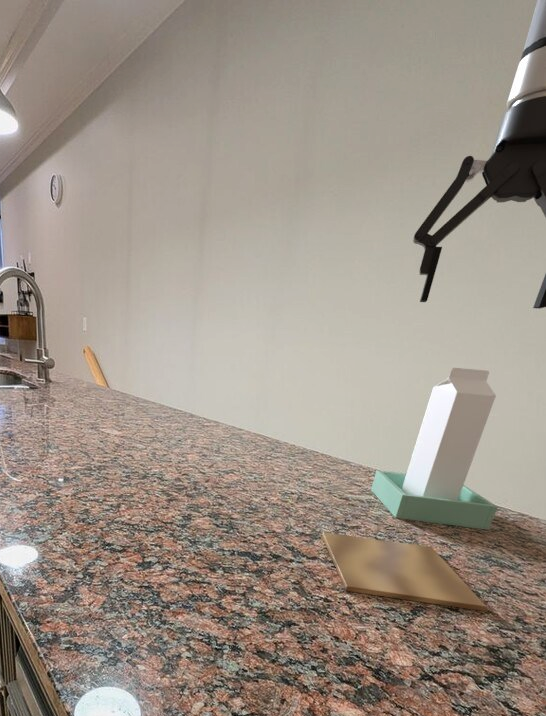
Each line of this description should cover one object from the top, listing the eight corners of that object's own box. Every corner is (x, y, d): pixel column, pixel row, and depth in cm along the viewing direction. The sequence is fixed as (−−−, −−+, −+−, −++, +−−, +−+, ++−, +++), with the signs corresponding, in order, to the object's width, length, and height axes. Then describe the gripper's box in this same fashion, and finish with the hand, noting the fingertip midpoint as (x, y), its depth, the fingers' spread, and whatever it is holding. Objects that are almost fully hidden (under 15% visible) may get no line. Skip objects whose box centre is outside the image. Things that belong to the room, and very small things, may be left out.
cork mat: (430, 550, 59) (431, 546, 59) (485, 611, 46) (487, 606, 46) (321, 536, 60) (322, 532, 60) (345, 590, 47) (346, 586, 47)
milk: (398, 499, 77) (438, 365, 69) (431, 501, 78) (475, 369, 69) (418, 512, 72) (464, 369, 63) (454, 514, 72) (504, 372, 64)
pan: (448, 499, 80) (456, 479, 79) (488, 530, 68) (498, 506, 66) (370, 489, 82) (376, 469, 80) (395, 517, 69) (402, 495, 68)
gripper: (427, 102, 54) (380, 296, 62) (704, 77, 45) (606, 308, 53) (422, 128, 60) (379, 301, 68) (663, 111, 51) (582, 312, 59)
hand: (478, 304), depth 61 cm, fingers open, 13 cm apart
